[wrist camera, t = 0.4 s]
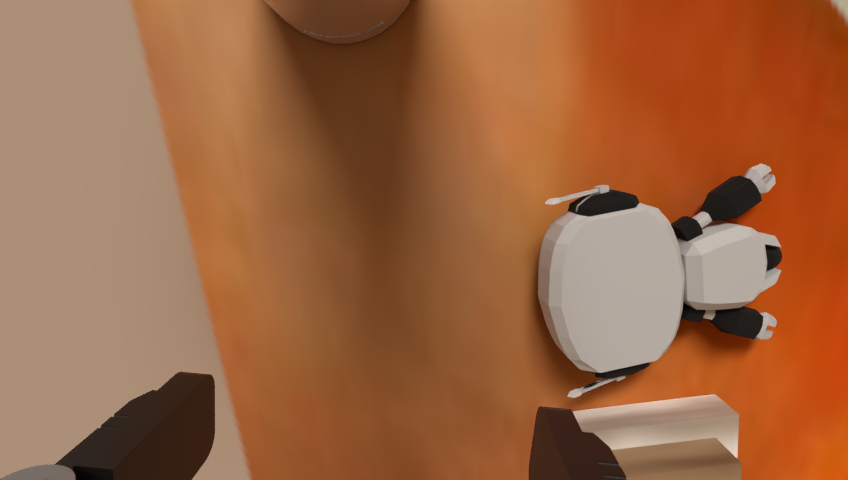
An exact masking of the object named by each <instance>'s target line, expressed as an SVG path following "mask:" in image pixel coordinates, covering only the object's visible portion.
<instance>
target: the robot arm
mask: <svg viewBox="0 0 848 480" xmlns="http://www.w3.org/2000/svg"><path fill="white" fill-rule="evenodd" d="M264 1H265V2H266V3H267V4H268V5H269V6H270V7H271V8H272V9H273V10H274V11H275V12H276V13H277V14H278V15H279V16H281V17H282V18H283V19H284V20H285V21H286V22H287V23H289V24H290V25H291V26H293V27H294V28H295V29H297V30H298V31H299V32H301V33H303V34H305V35H307V36H309V37H312V38H314V39H316V40H320V41H324V42H329V43H333V44H350V43H355V42H359V41H364V40H367V39H369V38H371V37H373V36H376V35H378V34H380V33H382V32H383V31H384V30H386V29H387V28H388V27H389V26H391V25H392V24H393V23H394V22H395V21H396V20H397V19H398V18H399V17H400V15H401V14H402V13H403V12H404V10H405V9H406V8H407V6H408V4H409V2H410V0H264ZM214 434H215V385H214V379H213V377H212V375H209V374H198V373H187V372H179V373H177V374H175V376H173V377H172V378H171V379H170V380H169V381H168V382H166V383H165V384H164V385H163V386H162V387H161V388H160V389H159V390H157V391H155V390H152V391H150V392H148V393H146V394H143V395H142V396H139V397H137V398H135V399H133V400H131V401H129V402H128V403H127V404H126V405H125V406H124V407H122V408H121V409H120V410H119V411H118V412H116V413H115V414H114V417H111V418H109V419H108V420H107V421H106V422H105V423H103V424H102V425H101V428H98V429H96V430H95V431H94V432H93V433H92V434H90V435H89V436H88V437H87V438H86V439H84V440H83V441H82V442H81V443H80V444H79V445H77V446H76V447H75V448H74V449H72V450H71V451H70V452H69V453H68V454H67V455H65V456H64V457H63V458H62V459H61V460H59V461H58V462H57V463H56V464H55V465H40V466H34V467H30V468H26V469H23V470H20V471H17V472H14V473H12V474H10V475H7V476H5V477H3V478H1V479H0V480H192V478H193V477H194V476H195V474H196V473H197V472H198V470H199V469H200V467H201V466H202V465H203V463H204V462H205V460H206V459H207V457H208V455H209V453H210V451H211V448H212V445H213V441H214ZM529 480H626V475H625V474H624V472H623V470H622V468H621V466H619V463H618V461H617V459H616V457H615V456H614V454H613V452H612V450H611V448H610V447H609V446H608V445H607V444H606V443H604V442H603V441H602V440H601V439H600V438H599V437H598V436H597V435H595V434H594V433H590V432H582V430H581V428H580V426H579V424H578V422H577V420H576V418H575V416H574V414H573V412H572V410H570V409H562V408H552V407H539V408H538V411H537V415H536V421H535V428H534V435H533V441H532V448H531V455H530V462H529Z"/></svg>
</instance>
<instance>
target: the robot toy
mask: <svg viewBox="0 0 848 480" xmlns="http://www.w3.org/2000/svg"><path fill="white" fill-rule="evenodd" d="M770 171H771V169H770V167H769V166H767V165H764V164H759V165H756V166H754V167H752V168H750V169H748V170H747V172H746V173H745V175H744V177H742V176H735V177H731V178H729V179H728V180H727V181H725V182H724V183H722V184H721V185H719V186H718V187H717V188H715V189H714V190H712V191H711V192H709V193H708V195H707V197H706V199H705V202H704V204H703V207H702V210H701V212H700V213H698V214H697V215H695V216H694V217H692V218H691V217H688V216H686V217H681V218H680V219H678V220H677V221H675V222H674V223H672V224H670V222H669V220H668V219H667V218H666V217H665V216H664V215H663V214H662V213H661V211H660V210H659V209H658V208H655V207H652V206H648V205H645V204H642V203H639V201H638V199H637V197H636V196H635V195H632V194H629V193H625V192H620V191H615V190H610V189H609V185H599V186H595V187H594V189H591V190H587V191H583V192H579V193H576V194H572V195H568V196H564V197H560V198H552V199H548V200H547V201H546V202H545V204H551V205H554V204H558V203H560V202H562V201H566V200H570V199H574V198H578V197H580V198H579V199H577V200H575V201H574V202H572V203H570V205H569V209H568V211H567V212H566V213H564V214H563V215H561V216H560V217H558V218H557V219H555V220H553V221H552V223H551V225H550V226H549V228H548V230H547V232H546V234H545V236H544V239H543V242H542V246H541V252H540V258H539V272H538V298H539V302H540V305H541V308H542V312H543V315H544V318H545V322H546V325H547V327H548V330H549V332H550V334H551V336H552V339H553V340H554V342H555V343H556V345H557V346H558V348H559V349H560V350H561V351H562V352H563V353H564V354H565V355H566V356H567V357H568V359H569V360H570V361H572V362H573V363H574V364H575V365H576V366H577V367H578V368H579V369H580V370H585V371H591V372H592V373H593V374H594V375H595V376H596V377H600V378H604V379H601V380H599V381H596V382H594V383H592V384H589V385H587V386H584V387H582V388H579V389H577V388H576V389H574V390H572V391H570V392H569V394H568V396H567V397H573V398H576V397H578V396H580V395H581V394H582V393H585V392H587V391H589V390H592V389H594V388H597V387H599V386H601V385H604V384H606V383H609V382H611V381H613V380H616V381H620V380H622V379H625V375H630V374H633V373H635V372H637V371H640V370H642V369H645V368H646V367H648V366H649V364H650V362H653V361H657V360H658V359H659V358H660V357H661V356H662V355H663V354H664V353H665V352H666V351H667V350H668V348H669V346H670V345H671V343H672V341H673V340H674V338H675V336H676V334H677V331H678V328H679V324H680V319H681V318H682V319H686V320H690V321H695V322H700V321H701V320H702V319H703V318H705V319H708V320H709V321H710V322H711V323H712V324H713V325H714V326H716V327H717V328H718V329H719V330H720V331H721V332H725V333H730V334H734V335H738V336H742V337H747V338H751V339H769V338H770V337H771V336H772V334H773V332H772V331H770V330H768V329H766V328H767V325H770V326H773V327H775V326H776V324H777V320H776V319H775V318H774V317H773V316H772V315H770V314H768V313H766V312H762V313H759V312H758V311H756V310H755V309H752V308H748V307H743V306H744V305H746V304H748V303H750V302H752V301H753V300H754V299H755V298H756V297H757V296H758V294H759V293H761V292H762V291H764V290H766V289H767V288H769V287H771V286H772V285H774V284H776V282H777V279H778V277H779V275H780V273H781V270H779V269H776V268H773V267H776V266H777V265H778V264H779V263H780V262H781V259H782V253H781V251H780V249H779V247H781V246H780V244H779V242H778V240H777V238H776V237H775V236H773V235H769V234H765V233H760V232H757V231H755V230H754V229H753V228H751V227H746V226H742V225H738V224H733V223H729V222H725V221H719V220H726V219H731V218H737V217H739V216H740V215H742V214H743V213H745V212H746V211H748V210H749V209H750V208H752V207H753V206H755V205H756V204H758V203H759V202H760V201H762V200H761V194H764V193H766V192H768V191H769V190H770V189H771V188H772V187H773V186H774V185H775V177H774V175H770V174H767V173H769V172H770ZM766 174H767V175H766ZM765 175H766V176H765Z"/></svg>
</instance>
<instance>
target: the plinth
mask: <svg viewBox="0 0 848 480" xmlns="http://www.w3.org/2000/svg"><path fill="white" fill-rule="evenodd" d="M572 412H573V414H574V416H575V418H576V420H577V422H578V424H579V426H580V428H581V430H582V432H590V433H594V434H595V435H597V436H598V437H599V438H600V439H601V440H602V441H603V442H604V443H606V444H607V445H608V446H609V447H610V448H611V450H612V452H613V454H614V456H615V457H616V459H617V461H618V463H619V466H621V468H622V470H623V472H624V474H625V475H626V480H741V465H742V463H741V462H740V461H739V460H738V459H737V452H738V427H739V414H738V413H737V412H735V411H734V410H733V409H732V408H731V407H730V406H728V405H727V404H726V403H725V402H724V401H722V400H721V399H720V398H719V397H718V396H717V395H715V394H711V395H703V396H695V397H686V398H678V399H670V400H661V401H653V402H644V403H636V404H628V405H619V406H611V407H603V408H594V409H586V410H577V411H572Z"/></svg>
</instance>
